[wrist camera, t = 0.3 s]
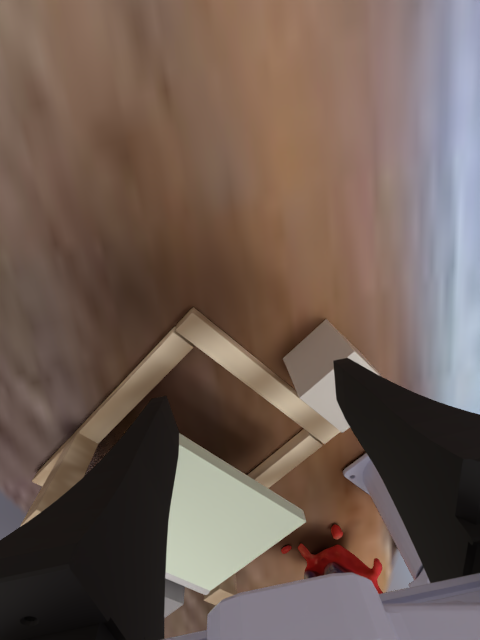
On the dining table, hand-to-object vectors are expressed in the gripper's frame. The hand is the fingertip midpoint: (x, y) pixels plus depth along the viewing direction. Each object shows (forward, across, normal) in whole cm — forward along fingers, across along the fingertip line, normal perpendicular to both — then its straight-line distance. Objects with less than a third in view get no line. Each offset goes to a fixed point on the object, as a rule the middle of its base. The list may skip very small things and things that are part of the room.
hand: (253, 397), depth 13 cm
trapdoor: (+4, +7, +12) cm, 15 cm away
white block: (+10, -6, +5) cm, 13 cm away
